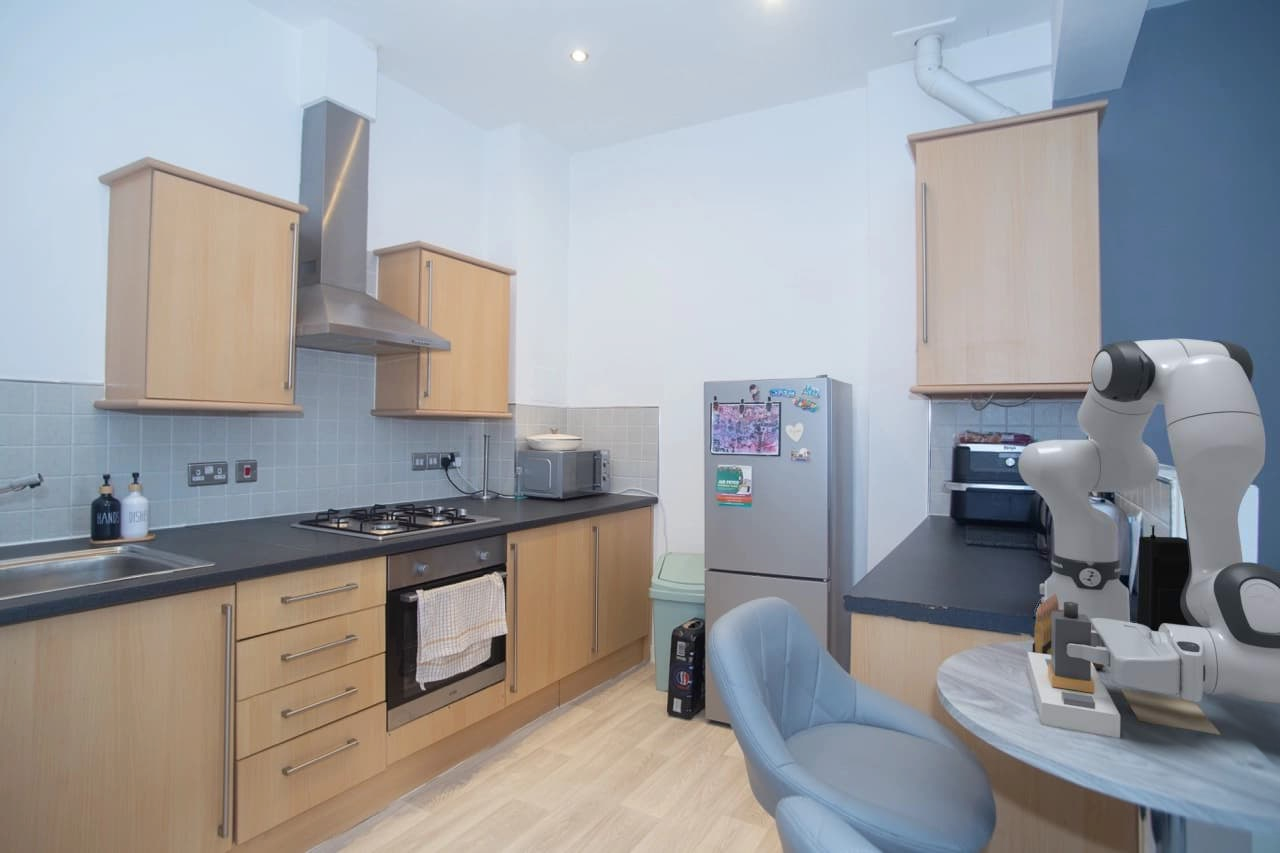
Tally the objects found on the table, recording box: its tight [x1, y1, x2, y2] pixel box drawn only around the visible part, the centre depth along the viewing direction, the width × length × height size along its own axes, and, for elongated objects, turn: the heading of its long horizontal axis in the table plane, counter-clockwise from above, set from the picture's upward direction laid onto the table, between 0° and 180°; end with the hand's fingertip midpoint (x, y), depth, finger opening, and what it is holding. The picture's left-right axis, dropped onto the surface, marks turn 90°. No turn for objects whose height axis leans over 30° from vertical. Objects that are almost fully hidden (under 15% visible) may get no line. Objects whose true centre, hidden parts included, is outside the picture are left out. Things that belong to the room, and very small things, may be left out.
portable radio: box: [1136, 524, 1191, 631], centre depth 115 cm, size 8×6×25 cm
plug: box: [1048, 602, 1094, 693], centre depth 98 cm, size 5×5×15 cm
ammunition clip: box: [1031, 594, 1059, 655], centre depth 116 cm, size 11×2×12 cm, turn 134°
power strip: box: [1026, 651, 1121, 739], centre depth 100 cm, size 22×9×5 cm, turn 154°
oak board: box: [1120, 688, 1222, 735], centre depth 96 cm, size 12×9×1 cm
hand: (1063, 642), depth 99 cm, fingers closed on plug, 4 cm apart
